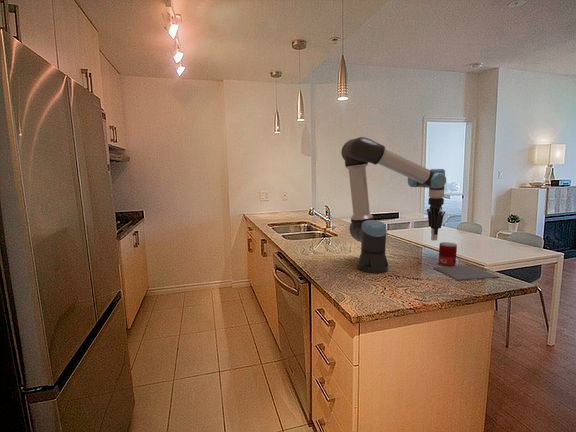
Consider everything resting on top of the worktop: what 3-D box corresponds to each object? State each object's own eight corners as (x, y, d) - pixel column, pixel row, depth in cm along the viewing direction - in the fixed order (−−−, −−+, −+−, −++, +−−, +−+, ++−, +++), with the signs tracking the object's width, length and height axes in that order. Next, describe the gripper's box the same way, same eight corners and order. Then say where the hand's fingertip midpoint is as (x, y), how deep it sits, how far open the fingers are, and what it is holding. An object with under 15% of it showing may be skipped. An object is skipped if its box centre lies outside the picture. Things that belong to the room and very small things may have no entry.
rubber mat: (457, 280, 142) (458, 279, 142) (433, 268, 159) (433, 267, 159) (499, 278, 145) (499, 276, 145) (470, 266, 163) (470, 265, 163)
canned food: (457, 267, 162) (459, 245, 160) (440, 266, 164) (441, 245, 162) (452, 262, 169) (454, 242, 168) (436, 262, 171) (438, 241, 169)
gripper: (450, 198, 168) (448, 242, 171) (435, 196, 181) (433, 237, 184) (437, 198, 167) (435, 243, 170) (422, 196, 180) (421, 238, 183)
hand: (434, 240), depth 177 cm, fingers closed
